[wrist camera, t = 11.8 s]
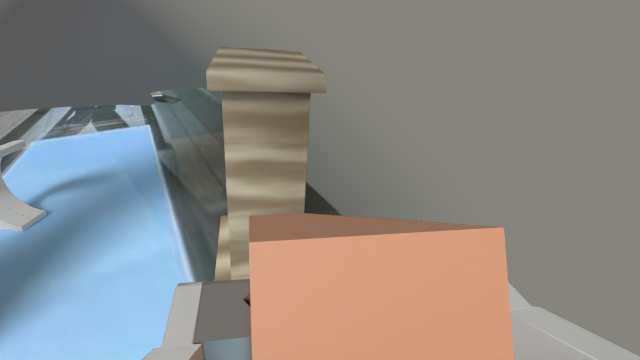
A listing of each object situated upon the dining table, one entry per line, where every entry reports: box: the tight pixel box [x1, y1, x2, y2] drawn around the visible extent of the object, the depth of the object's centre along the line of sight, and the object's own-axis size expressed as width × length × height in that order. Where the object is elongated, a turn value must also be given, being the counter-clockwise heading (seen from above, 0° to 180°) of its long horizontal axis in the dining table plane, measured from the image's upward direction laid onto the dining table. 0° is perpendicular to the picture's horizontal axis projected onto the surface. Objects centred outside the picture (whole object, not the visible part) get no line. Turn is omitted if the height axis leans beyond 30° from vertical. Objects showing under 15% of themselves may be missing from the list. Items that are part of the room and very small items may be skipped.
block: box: [249, 213, 514, 360], centre depth 16 cm, size 22×4×4 cm
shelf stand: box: [206, 47, 327, 281], centre depth 44 cm, size 18×12×26 cm, turn 10°
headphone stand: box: [0, 140, 47, 231], centre depth 51 cm, size 5×6×12 cm
